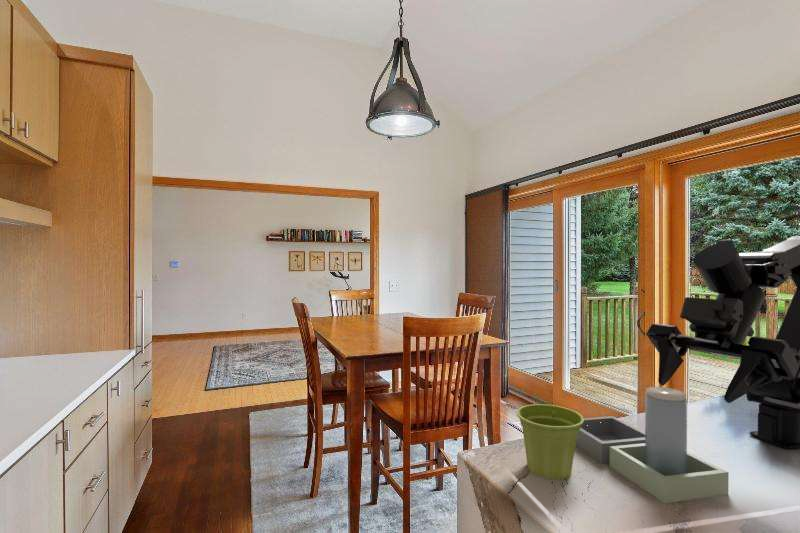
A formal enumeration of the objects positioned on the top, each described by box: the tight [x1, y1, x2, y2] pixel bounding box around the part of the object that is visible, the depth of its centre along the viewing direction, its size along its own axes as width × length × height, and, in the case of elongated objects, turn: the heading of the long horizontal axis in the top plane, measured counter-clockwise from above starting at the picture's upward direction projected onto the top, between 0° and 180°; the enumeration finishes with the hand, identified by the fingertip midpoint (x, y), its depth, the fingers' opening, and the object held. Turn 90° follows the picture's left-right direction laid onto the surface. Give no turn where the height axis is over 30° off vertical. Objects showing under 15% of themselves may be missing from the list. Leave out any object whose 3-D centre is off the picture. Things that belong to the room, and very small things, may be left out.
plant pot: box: [516, 403, 584, 480], centre depth 63 cm, size 9×9×9 cm
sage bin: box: [609, 443, 730, 505], centre depth 60 cm, size 10×10×4 cm
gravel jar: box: [644, 386, 688, 476], centre depth 60 cm, size 5×5×12 cm
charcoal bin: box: [575, 415, 645, 464], centre depth 71 cm, size 10×10×4 cm
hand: (691, 391), depth 63 cm, fingers open, 9 cm apart
